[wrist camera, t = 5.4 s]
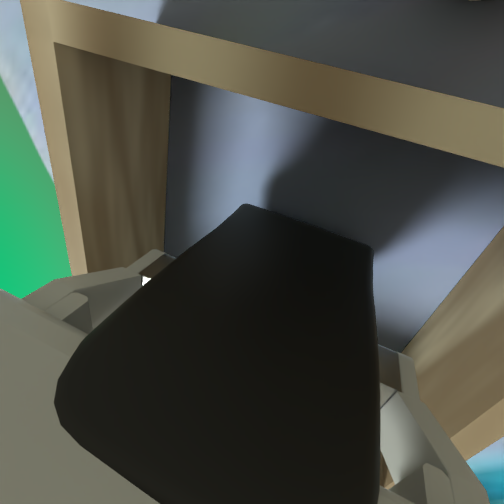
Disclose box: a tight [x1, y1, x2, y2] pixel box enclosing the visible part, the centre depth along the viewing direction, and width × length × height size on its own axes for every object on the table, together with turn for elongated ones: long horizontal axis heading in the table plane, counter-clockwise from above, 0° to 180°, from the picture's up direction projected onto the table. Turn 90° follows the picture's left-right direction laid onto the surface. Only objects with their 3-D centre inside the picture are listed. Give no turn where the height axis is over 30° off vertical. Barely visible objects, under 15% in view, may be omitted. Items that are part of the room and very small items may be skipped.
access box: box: [20, 0, 504, 489], centre depth 13 cm, size 18×16×6 cm
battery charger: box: [54, 204, 381, 504], centre depth 10 cm, size 7×4×11 cm, turn 78°
